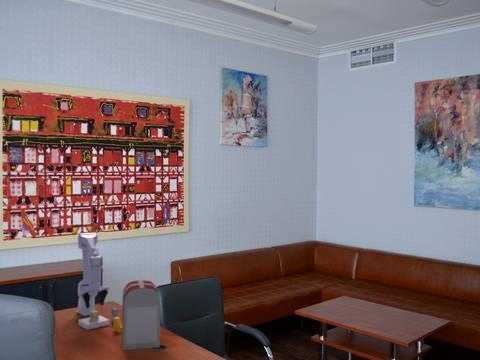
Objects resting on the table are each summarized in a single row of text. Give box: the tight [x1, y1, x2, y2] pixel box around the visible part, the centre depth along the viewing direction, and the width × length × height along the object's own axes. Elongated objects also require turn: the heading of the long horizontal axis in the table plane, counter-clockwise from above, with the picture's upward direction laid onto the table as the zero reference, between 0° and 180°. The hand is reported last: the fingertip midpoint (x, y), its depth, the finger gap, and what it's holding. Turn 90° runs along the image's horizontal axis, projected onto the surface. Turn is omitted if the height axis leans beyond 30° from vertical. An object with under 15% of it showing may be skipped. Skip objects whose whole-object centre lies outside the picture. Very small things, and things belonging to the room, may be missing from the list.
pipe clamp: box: [112, 316, 122, 334], centre depth 234 cm, size 12×4×6 cm, turn 67°
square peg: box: [89, 309, 100, 322], centre depth 242 cm, size 3×3×7 cm
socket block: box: [77, 314, 110, 331], centre depth 243 cm, size 10×12×2 cm
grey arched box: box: [121, 279, 161, 351], centre depth 221 cm, size 17×18×27 cm
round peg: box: [110, 307, 119, 324], centre depth 247 cm, size 3×3×7 cm
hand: (94, 306), depth 243 cm, fingers open, 7 cm apart
